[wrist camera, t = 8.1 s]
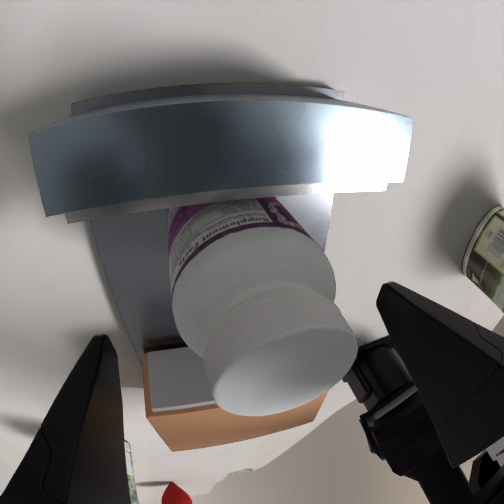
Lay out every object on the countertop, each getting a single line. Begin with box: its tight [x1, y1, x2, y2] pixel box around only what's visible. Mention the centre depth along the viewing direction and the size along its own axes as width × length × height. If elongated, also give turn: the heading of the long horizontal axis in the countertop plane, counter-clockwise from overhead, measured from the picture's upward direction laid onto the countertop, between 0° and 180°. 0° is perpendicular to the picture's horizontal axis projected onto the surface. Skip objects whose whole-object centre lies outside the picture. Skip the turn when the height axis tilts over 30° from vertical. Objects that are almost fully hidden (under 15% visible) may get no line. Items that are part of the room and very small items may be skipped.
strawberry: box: [162, 482, 192, 504], centre depth 42 cm, size 6×8×10 cm
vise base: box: [29, 83, 414, 366], centre depth 16 cm, size 24×13×6 cm, turn 179°
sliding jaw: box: [142, 347, 329, 452], centre depth 19 cm, size 8×12×5 cm, turn 89°
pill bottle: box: [168, 197, 358, 416], centre depth 11 cm, size 5×5×10 cm
